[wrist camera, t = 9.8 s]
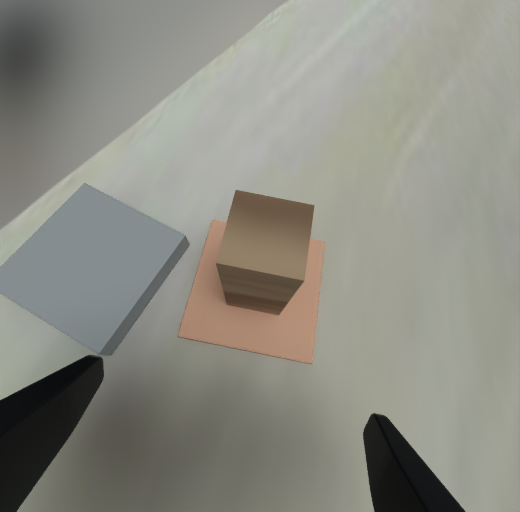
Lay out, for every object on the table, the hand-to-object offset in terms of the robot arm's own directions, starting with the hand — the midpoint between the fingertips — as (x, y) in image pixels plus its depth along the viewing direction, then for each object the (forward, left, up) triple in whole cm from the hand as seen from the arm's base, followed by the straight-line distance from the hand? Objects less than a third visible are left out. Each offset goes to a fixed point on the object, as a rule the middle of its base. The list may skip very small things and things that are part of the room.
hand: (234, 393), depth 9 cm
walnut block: (+2, -7, -13) cm, 15 cm away
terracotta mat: (+2, -7, -13) cm, 15 cm away
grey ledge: (+15, -2, -13) cm, 20 cm away
